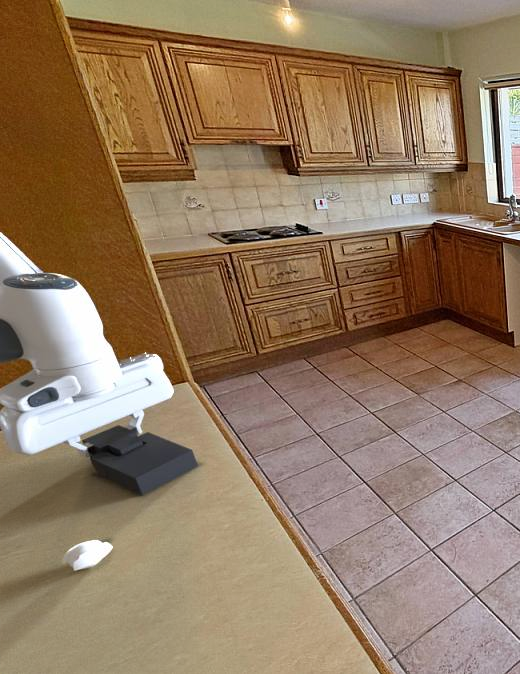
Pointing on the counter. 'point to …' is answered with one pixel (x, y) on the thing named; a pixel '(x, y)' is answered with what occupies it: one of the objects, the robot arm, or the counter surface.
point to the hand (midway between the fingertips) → (112, 444)
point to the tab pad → (114, 441)
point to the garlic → (86, 554)
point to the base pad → (145, 464)
